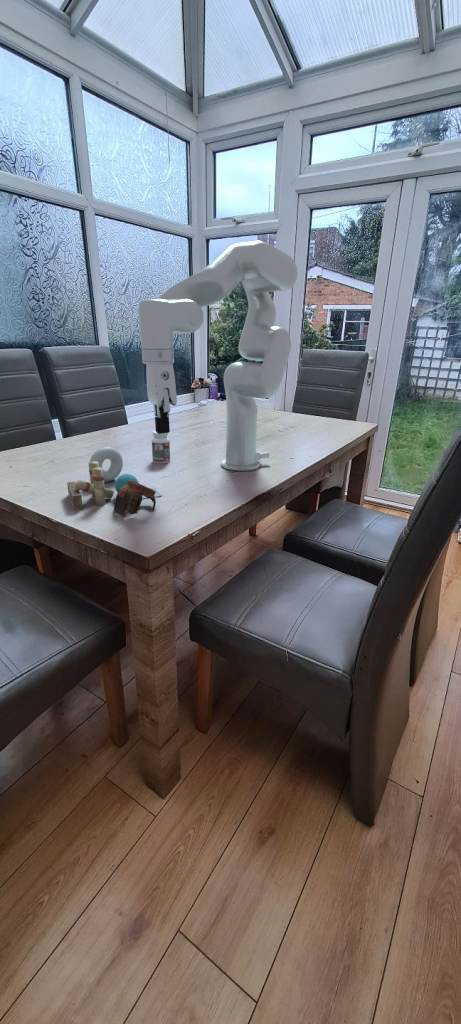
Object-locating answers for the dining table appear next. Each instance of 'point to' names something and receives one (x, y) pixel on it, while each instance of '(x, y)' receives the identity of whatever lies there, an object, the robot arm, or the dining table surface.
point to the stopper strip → (74, 496)
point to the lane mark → (154, 495)
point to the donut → (114, 458)
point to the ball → (124, 481)
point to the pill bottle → (160, 448)
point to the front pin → (92, 488)
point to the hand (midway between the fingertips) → (162, 432)
